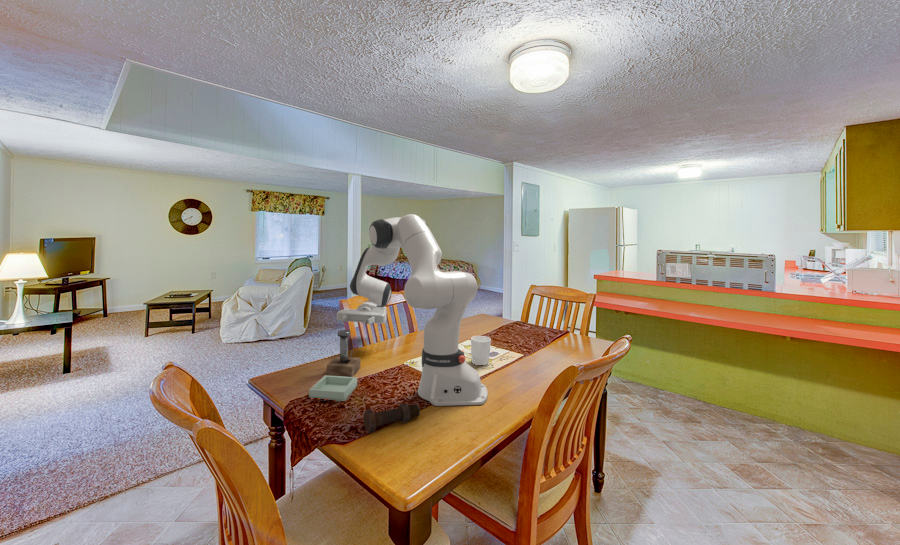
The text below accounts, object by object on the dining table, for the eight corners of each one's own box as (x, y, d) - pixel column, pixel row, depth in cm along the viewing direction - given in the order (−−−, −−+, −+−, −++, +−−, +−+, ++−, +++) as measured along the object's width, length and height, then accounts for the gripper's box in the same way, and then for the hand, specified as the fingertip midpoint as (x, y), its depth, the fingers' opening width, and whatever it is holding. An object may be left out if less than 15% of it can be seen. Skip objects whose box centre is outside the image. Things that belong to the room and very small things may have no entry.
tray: (357, 386, 117) (357, 377, 117) (344, 401, 106) (344, 392, 106) (324, 383, 118) (324, 375, 118) (309, 399, 107) (309, 389, 107)
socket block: (360, 368, 132) (360, 357, 132) (351, 377, 124) (351, 366, 123) (336, 366, 133) (336, 356, 133) (326, 376, 124) (326, 365, 124)
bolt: (419, 423, 99) (366, 437, 91) (412, 408, 103) (361, 420, 94) (424, 410, 96) (371, 423, 88) (417, 395, 100) (366, 406, 92)
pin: (352, 370, 130) (352, 330, 129) (347, 374, 126) (347, 333, 124) (340, 369, 131) (340, 329, 129) (335, 374, 126) (335, 333, 125)
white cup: (490, 367, 137) (492, 342, 136) (470, 366, 137) (471, 341, 136) (488, 359, 145) (490, 335, 144) (469, 359, 145) (470, 335, 144)
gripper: (343, 304, 153) (330, 311, 140) (389, 307, 152) (381, 314, 138) (343, 318, 154) (330, 327, 140) (389, 321, 153) (380, 330, 139)
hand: (355, 321), depth 139 cm, fingers open, 8 cm apart
